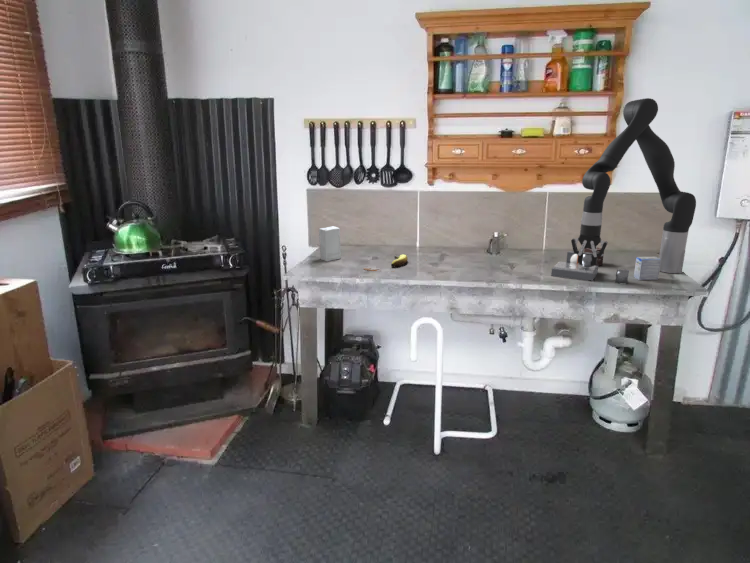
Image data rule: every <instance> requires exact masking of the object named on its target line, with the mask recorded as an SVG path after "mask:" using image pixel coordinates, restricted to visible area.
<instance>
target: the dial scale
mask: <svg viewBox="0 0 750 563" xmlns="http://www.w3.org/2000/svg"><path fill="white" fill-rule="evenodd" d="M598 272H599V266H595V265H594V266H592V267H583V266H581V265H579V263H578V255H577V254H574V251H573V250H572V251H571V250H568V251H567V253H566V261H561V260H560V261H558V262H557V263H556V264H554V266H553V267H552V268H551V272H550V273H551V275H550V276H551V277H557V278H565V279H566V278H567V279H573V280H581V279H582V281H587V280H591V281H590V282H593V281H594V280H595V278H596V277H597V275H598ZM593 279H594V280H593Z"/></svg>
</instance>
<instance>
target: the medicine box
mask: <svg viewBox="0 0 750 563" xmlns="http://www.w3.org/2000/svg"><path fill="white" fill-rule="evenodd" d="M660 264H661V259H659V257H657V256H636V258H635V265H634V273H633V278H635V279H636V280H638V281H650V280H651V281H656V280H657V281H659V274H660V271H659V270H660Z"/></svg>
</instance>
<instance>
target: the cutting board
mask: <svg viewBox="0 0 750 563" xmlns="http://www.w3.org/2000/svg"><path fill="white" fill-rule="evenodd" d="M394 258H395V259H394V260H393V261H392V262H391V264H390V265H391V266H390V267H391V268H392V267H393V268H400V267H402V266H404V265H405V264H406V263H407V262H408V256H407V255H406V254H400V255H399V256H394ZM423 259H424V260H425V261H427V259H426V258H425V257H423ZM363 270H365V271H368V272H369V271H371V272H372V271H373V272H377V271H381V269H380V268H379V269H372V267H371V268H367V267H363ZM391 272H394V270H392V271H391Z"/></svg>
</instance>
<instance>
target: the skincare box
mask: <svg viewBox="0 0 750 563" xmlns="http://www.w3.org/2000/svg"><path fill="white" fill-rule="evenodd" d="M318 236H319V240H318V241H319V254H320V255H319V257H320V258H319V259H320V260H322V261H324V262H331V261H335V260H340V259H341V258H342V257H341V256H342V254H341V252H342V251H341V250H342V249H341V228H340V227H337V226H335V225H332V226H327V227H320V228H318Z"/></svg>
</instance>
